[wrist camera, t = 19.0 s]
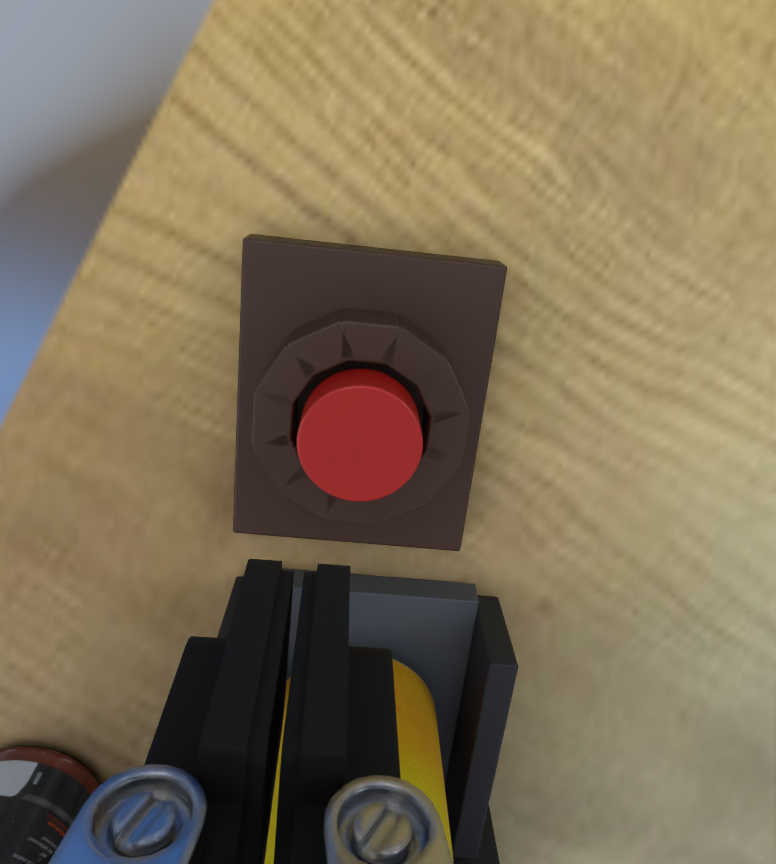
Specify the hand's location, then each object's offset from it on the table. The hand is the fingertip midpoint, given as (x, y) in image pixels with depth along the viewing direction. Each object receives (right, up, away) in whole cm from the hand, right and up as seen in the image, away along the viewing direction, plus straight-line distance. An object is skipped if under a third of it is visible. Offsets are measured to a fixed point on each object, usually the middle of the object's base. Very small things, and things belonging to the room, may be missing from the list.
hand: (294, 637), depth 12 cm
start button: (+1, +4, +10) cm, 11 cm away
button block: (+1, +5, +12) cm, 13 cm away
